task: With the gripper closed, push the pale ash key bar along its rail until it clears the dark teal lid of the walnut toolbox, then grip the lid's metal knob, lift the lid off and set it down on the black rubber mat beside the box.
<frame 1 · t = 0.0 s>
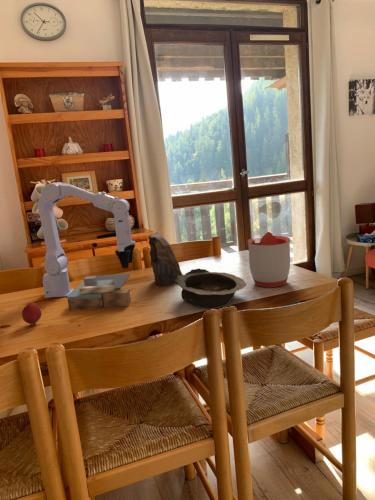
hand: (127, 265, 153), 10 cm above the table, tool pointing down, fingers open, 7 cm apart
stone bowl: (211, 300, 137), on the table
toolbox: (93, 300, 146), on the table
lid: (91, 290, 145), point 4 cm above the table, touching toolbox
key: (97, 289, 139), point 6 cm above the table, slide at 0.0 cm
mat: (108, 282, 168), on the table
onion: (33, 325, 128), on the table
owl: (167, 282, 162), on the table
citrus juicer: (268, 283, 150), on the table
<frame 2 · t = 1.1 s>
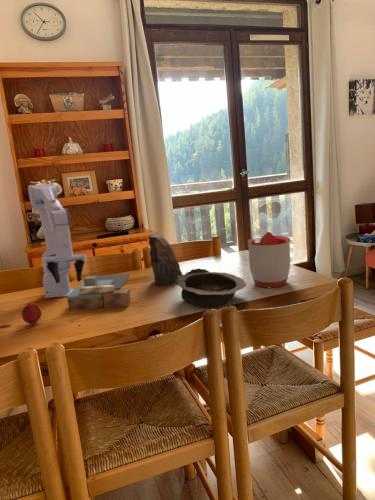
hand: (68, 281, 139), 9 cm above the table, tool pointing down, fingers open, 7 cm apart
nothing on the table moved.
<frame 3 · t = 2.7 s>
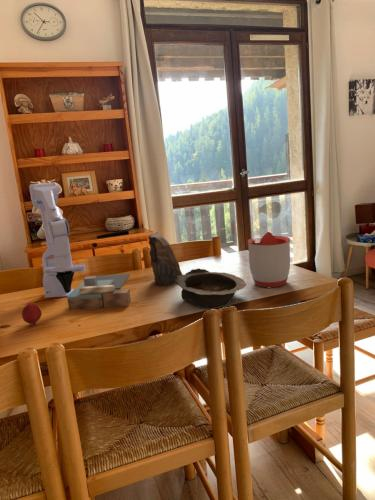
hand: (68, 291, 140), 6 cm above the table, tool pointing down, fingers closed
nothing on the table moved.
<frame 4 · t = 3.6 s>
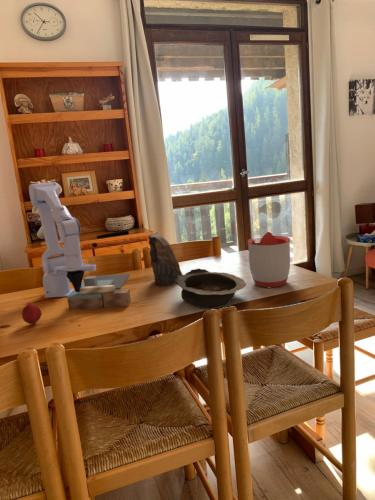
hand: (78, 291, 139), 6 cm above the table, tool pointing down, fingers closed
key: (97, 289, 139), point 6 cm above the table, slide at 0.1 cm, touching gripper
everything else where it was.
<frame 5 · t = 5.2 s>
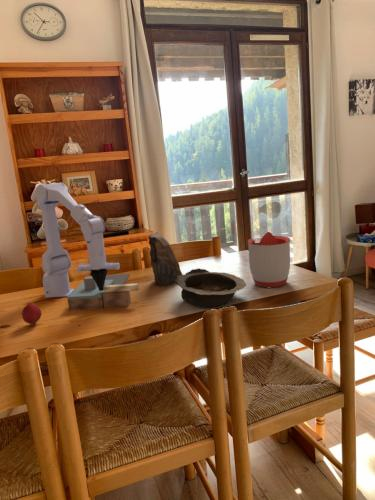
hand: (101, 289, 139), 6 cm above the table, tool pointing down, fingers closed
key: (121, 287, 138), point 6 cm above the table, slide at 8.6 cm, touching gripper
everything else where it was.
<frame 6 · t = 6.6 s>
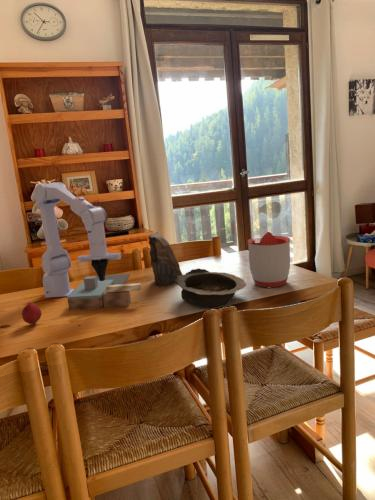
hand: (102, 280, 138), 9 cm above the table, tool pointing down, fingers closed
key: (123, 287, 138), point 6 cm above the table, slide at 9.5 cm
everything else where it was.
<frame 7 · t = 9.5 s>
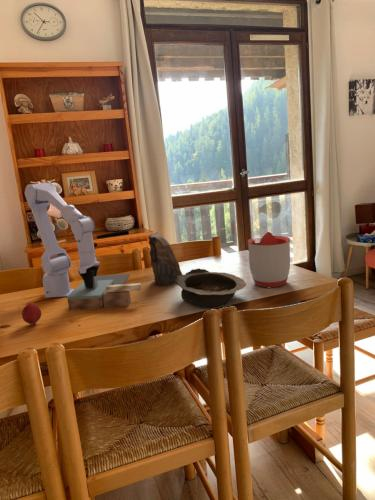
hand: (91, 286, 145), 5 cm above the table, tool pointing down, fingers closed on lid, 3 cm apart
lid: (91, 290, 145), point 4 cm above the table, touching gripper, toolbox
everything else where it was.
when the fingers open (3 cm above the table, at t = 14.2 s): lid stays where it is, resting on mat.
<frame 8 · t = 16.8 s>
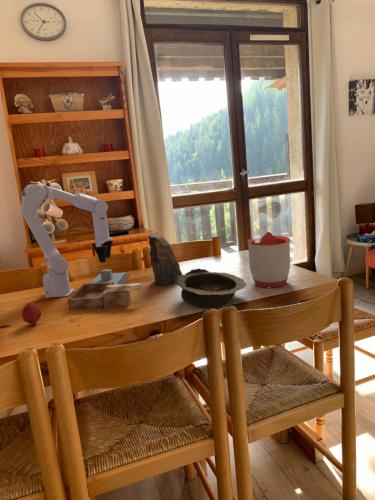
hand: (105, 259, 165), 10 cm above the table, tool pointing down, fingers open, 7 cm apart
lid: (107, 281, 168), resting on mat
everything else where it was.
at the end: key slide at 9.5 cm; lid inside the target area (0.3 cm from its centre), resting on mat; lid tilted 0° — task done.
